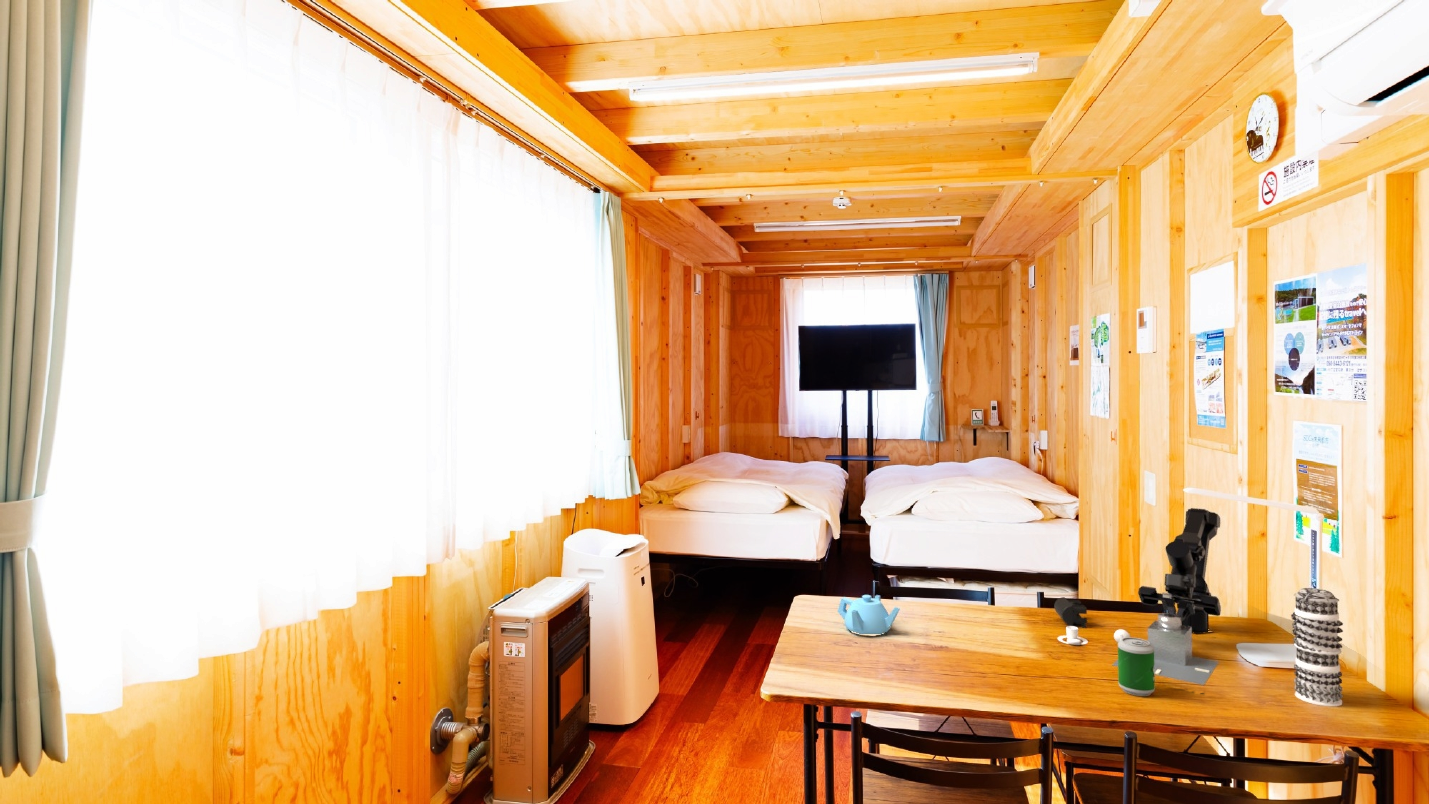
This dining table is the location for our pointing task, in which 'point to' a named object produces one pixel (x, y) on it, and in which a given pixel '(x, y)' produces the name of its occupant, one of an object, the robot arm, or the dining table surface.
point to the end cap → (1071, 612)
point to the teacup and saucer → (1072, 636)
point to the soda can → (1136, 666)
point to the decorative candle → (1317, 647)
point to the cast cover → (1170, 639)
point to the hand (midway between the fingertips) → (1174, 627)
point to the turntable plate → (1178, 666)
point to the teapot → (866, 615)
